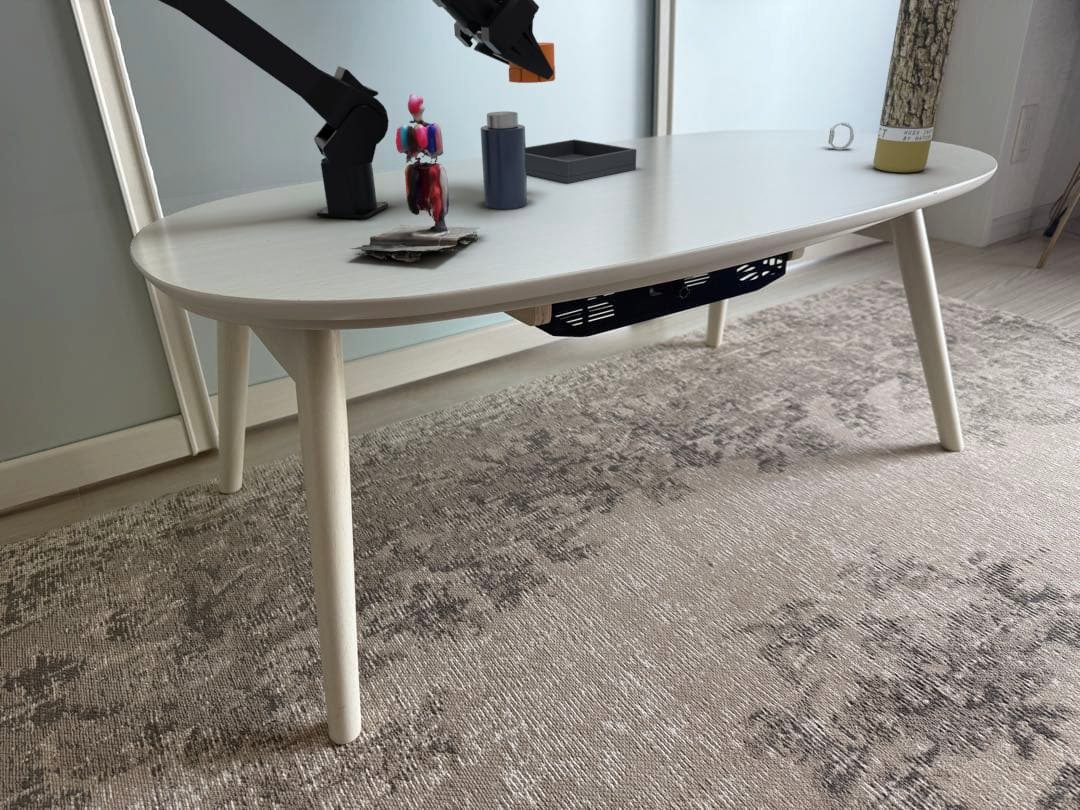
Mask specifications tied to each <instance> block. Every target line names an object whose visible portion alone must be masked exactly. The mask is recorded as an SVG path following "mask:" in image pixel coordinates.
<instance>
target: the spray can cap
mask: <svg viewBox="0 0 1080 810" xmlns="http://www.w3.org/2000/svg"><path fill="white" fill-rule="evenodd" d="M538 44H539V46H540V48H541V50H542V52H543V53H544V55H545V57H546V59H547V61H548V62H549V64H550V66H551V68H552V70H553V72H554V74H553V75H552V76H551V78H550V79H549V80H547V79H545V78H542V77H540V76H538V75H536V74H534V73H532V72H530V71H527V70H525V69H523V68H521V67H519V66H517V65H515V64H513V63H511V62H509V65H508V66H509V67H508V82H510V83H515V84H517V83H518V84H522V83H523V84H532V83H533V84H534V83H535V84H536V83H547V82H554V81H555V80H556V65H555V43H554V42H538Z"/></svg>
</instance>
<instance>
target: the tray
mask: <svg viewBox="0 0 1080 810" xmlns="http://www.w3.org/2000/svg"><path fill="white" fill-rule="evenodd" d="M634 170H637V149H636V148H631V147H626V146H625V147H624V146H619V145H612V144H606V143H599V142H593V141H588V140H582V139H581V140H580V139H569V140H563V141H556V142H549V143H544V144H538V145H532V146H526V175H528V176H532V177H536V178H537V177H538V178H542V179H546V180H552V181H555V182H558V183H559V182H560V183H564V184H570V183H575V182H582V181H585V180H590V179H591V180H592V179H595V178H601V177H605V176H610V175H611V176H612V175H615V174H620V173H626V172H629V171H634Z"/></svg>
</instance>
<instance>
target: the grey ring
mask: <svg viewBox="0 0 1080 810" xmlns="http://www.w3.org/2000/svg"><path fill="white" fill-rule="evenodd" d="M838 126H842V127H843V126H844V127H847V128H848V129H849V139H848V142H847V143H846V144H845V145H844V146H842V147H839V146H836V145H834V144H833V142H834V138H835V129H836V128H837V127H838ZM854 138H855V132H854V127H853V126H852V125H851V124H850V123H848V122H838V123H836V124H835V125H833V126H832V127H830V129H829V137H828V145H830V146H831V147H832V149H835V150H837V151H842V150H845V149H848V148H849V147H850V145H851V144H852V143H853V141H854Z"/></svg>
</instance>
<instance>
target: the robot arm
mask: <svg viewBox="0 0 1080 810" xmlns="http://www.w3.org/2000/svg"><path fill="white" fill-rule="evenodd" d="M158 1H159V2H161V3H162V4H165V5H167V6H168V7H171V8H172V9H175V10H177V11H179V12H180V13H182V14H183V15H185V16H186V17H188V18H189V19H191V21H193V22H195V23H196V24H198V25H199V26H200V27H202V28H203V29H204V30H206V31H207V32H209V33H210V34H212V35H213V36H214V37H216V38H217V39H219V40H220V41H222V42H223V43H224V44H226V45H227V46H229V47H230V48H231V49H232V50H234V51H235V52H237V53H238V54H240V55H241V56H243V58H244V57H245V58H246V59H247V60H248V61H249V62H251V63H252V64H254V65H255V66H257V67H258V68H260V69H261V70H262V71H264V72H266V73H267V74H268V75H269V76H271V77H272V78H274V79H275V80H277V81H278V82H279V83H280V84H282V85H284V86H285V87H286V88H288V89H289V90H291V91H292V92H294V93H295V94H296V95H298V96H300V98H301V99H302V100H304V101H305V102H306V103H307V104H308V106H310V108H311V109H313V111H315V112H316V113H317V114H318V115H319V117H321V118H322V119H323V120H324V122H325V123H324V124H323V125H322V126H321V128H320V129H319V131H318V132H317V133H316V135H315V136H314V137H313V141H314V143H315V145H316V147H317V148H318V150H319V153H320V154H321V155H322V156H323V157H324V158H322V159H321V160H320V170H321V176H322V183H323V189H324V195H325V202H326V203H325V204H326V207H324V208H322V209H319V210H317V211H316V217H323V218H325V217H326V218H327V217H328V218H345V219H347V218H348V219H367V218H370V217H371V216H373V215H375V214H377V213H379V212H381V211H383V210H384V209H386V208H388V207H389V202H388V201H377V194H376V187H375V186H376V185H375V177H374V176H375V175H374V168H373V161H374V157H375V153H376V148H377V145H378V144H380V142H382V141H383V139H384V138H385V137H386V135H387V132H388V130H389V123H390V122H389V117H388V111H387V109H386V107H385V106H384V104H383V103H382V102H381V101H379V99H377V98H376V97H377V96H378V95H379V91H377V90H375V89H373V88H371V87H368V86H366V85H364V84H362V83H361V82H360V81H359V80H358V79H357V77H356V76H354V74H353V73H352V72H351V71H350V70H349V69H347V68H344V67H342V66H340V65H338V66H337V68H336V70H335V73H334V75H332V74H329V73H327V72H325V71H323V70H322V69H320V68H318V67H317V66H315V65H314V64H313V63H311V62H310V61H308V59H306V58H305V57H303V56H302V55H300V54H299V53H297V51H295V50H294V49H293V48H291V47H290V46H288V45H287V44H286V43H284V42H283V41H282V40H280V39H279V38H277V37H276V36H275V35H274V34H272V33H271V32H269V31H268V30H267V29H266V28H264V27H263V26H261V25H260V24H258V23H257V22H256V21H255V20H254V19H252V18H250V17H249V16H248V15H246V14H245V13H244V12H242V11H241V10H240V9H238V8H237V7H236V6H234V5H233V4H231V3H230V2H229V1H227V0H158ZM431 1H432V2H433V3H434V4H435V6H437V7H438V8H442V9H444V11H446V13H448V14H449V15H450V16H451V18H452V19H454V20H455V22H454V23H453V30H454V37H455V38H457V40H459V42H460V43H462V44H463V45H464V47H465V48H471V47H472V46H473V45H474V43H473V40H474V41H475V42H476V44H475V46H474V47H473V50H474V51H475V52H477V53H479V54H482V55H484V56H487V57H488V58H491V59H494V60H496V61H497V62H500V63H503V64H505V65H507V66H509V62H511V63H513V64H515V65H517V66H519V67H521V68H523V69H525V70H527V71H530V72H532V73H534V74H536V75H538V76H540V77H542V78H545V79H547V80H549V79H550V78H551V76H552V75H553V74H554V72H553V70H552V68H551V66H550V64H549V62H548V61H547V59H546V57H545V55H544V53H543V52H542V50H541V48H540V46H539V44H538V43H539V42H538V41H537V38H536V37H535V34H534V31H533V30H534V28H533V27H534V19H535V17H536V14H537V13H538V12H539V9H540V6H539V4H537V3H536V1H535V0H431Z"/></svg>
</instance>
